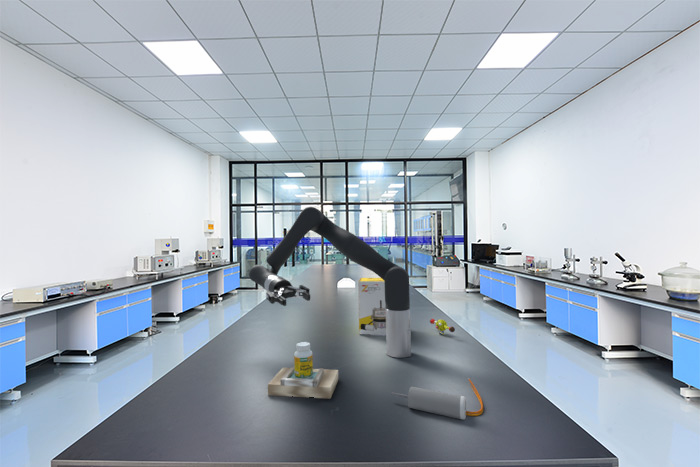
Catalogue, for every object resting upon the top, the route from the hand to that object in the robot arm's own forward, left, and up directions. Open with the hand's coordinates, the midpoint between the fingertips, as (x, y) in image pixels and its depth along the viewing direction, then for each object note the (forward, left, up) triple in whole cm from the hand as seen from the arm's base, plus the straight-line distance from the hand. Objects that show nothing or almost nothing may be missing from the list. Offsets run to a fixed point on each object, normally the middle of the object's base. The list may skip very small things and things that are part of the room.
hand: (297, 300), depth 101 cm
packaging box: (-23, -55, -24) cm, 64 cm away
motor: (-44, +8, -25) cm, 51 cm away
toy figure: (-53, -51, -24) cm, 77 cm away
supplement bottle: (-5, +9, -21) cm, 23 cm away
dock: (-5, +8, -24) cm, 26 cm away
